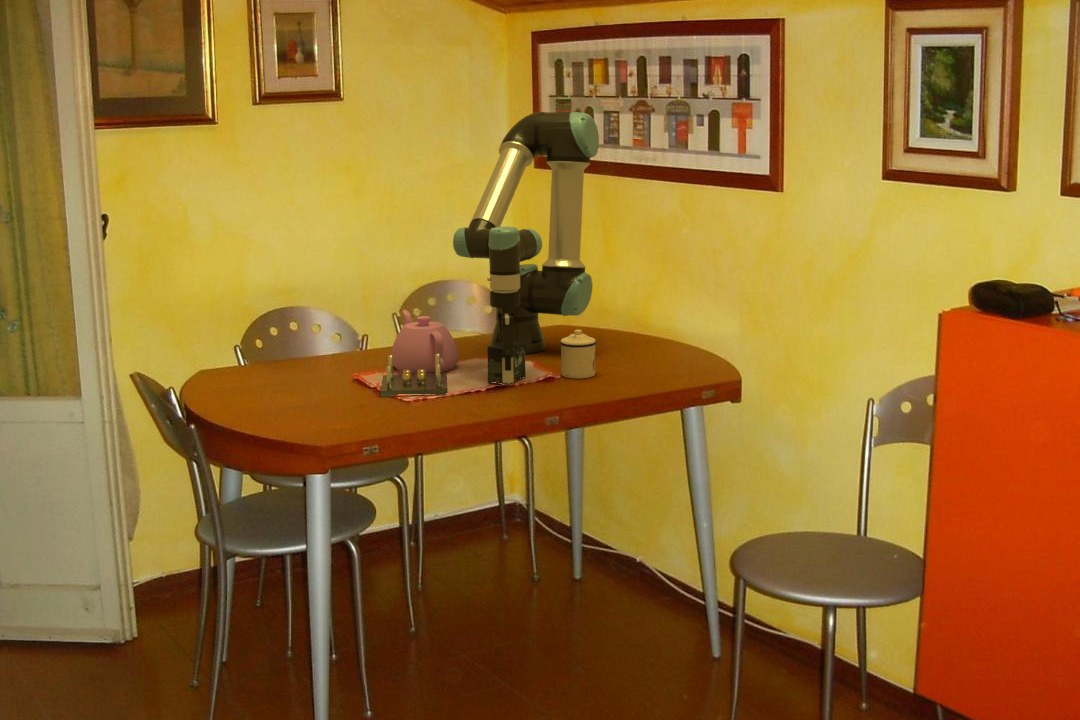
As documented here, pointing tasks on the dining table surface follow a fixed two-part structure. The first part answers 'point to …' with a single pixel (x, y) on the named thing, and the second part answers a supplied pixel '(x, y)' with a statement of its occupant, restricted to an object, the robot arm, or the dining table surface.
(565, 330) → the dining table surface
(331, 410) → the dining table surface
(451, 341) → the teapot
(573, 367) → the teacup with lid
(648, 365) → the dining table surface
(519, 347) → the box
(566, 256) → the robot arm
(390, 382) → the chassis
